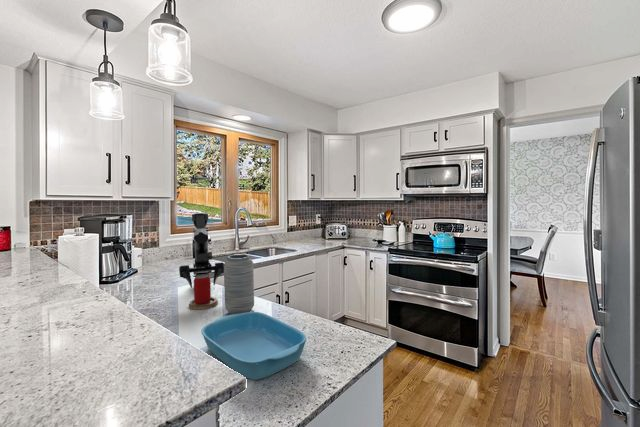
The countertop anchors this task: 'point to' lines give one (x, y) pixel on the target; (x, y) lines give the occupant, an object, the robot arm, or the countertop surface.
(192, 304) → the coaster
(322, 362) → the countertop surface
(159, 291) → the countertop surface
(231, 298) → the vase
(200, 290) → the beverage can
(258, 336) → the casserole dish
